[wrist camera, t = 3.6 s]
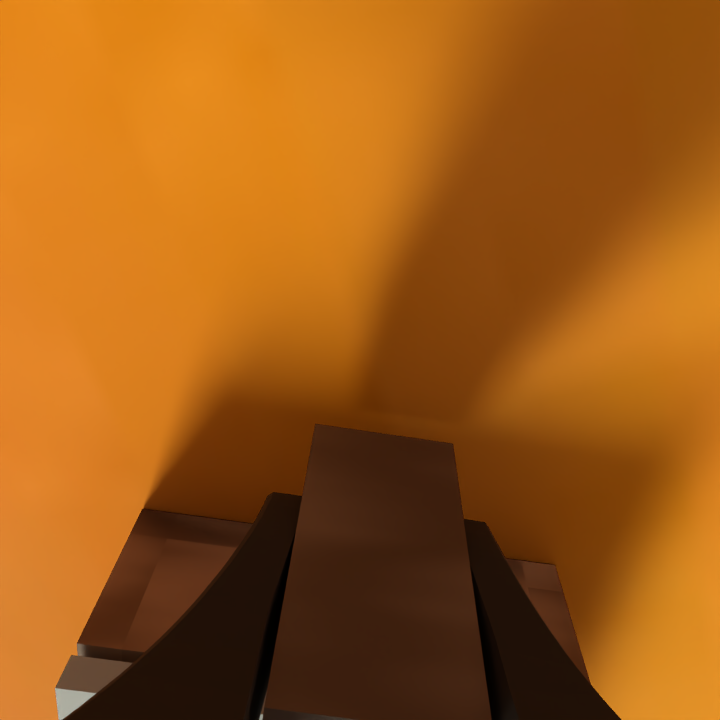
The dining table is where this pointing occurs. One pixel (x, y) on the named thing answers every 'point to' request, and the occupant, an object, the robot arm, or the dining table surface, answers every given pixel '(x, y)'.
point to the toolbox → (200, 566)
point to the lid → (87, 681)
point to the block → (378, 588)
